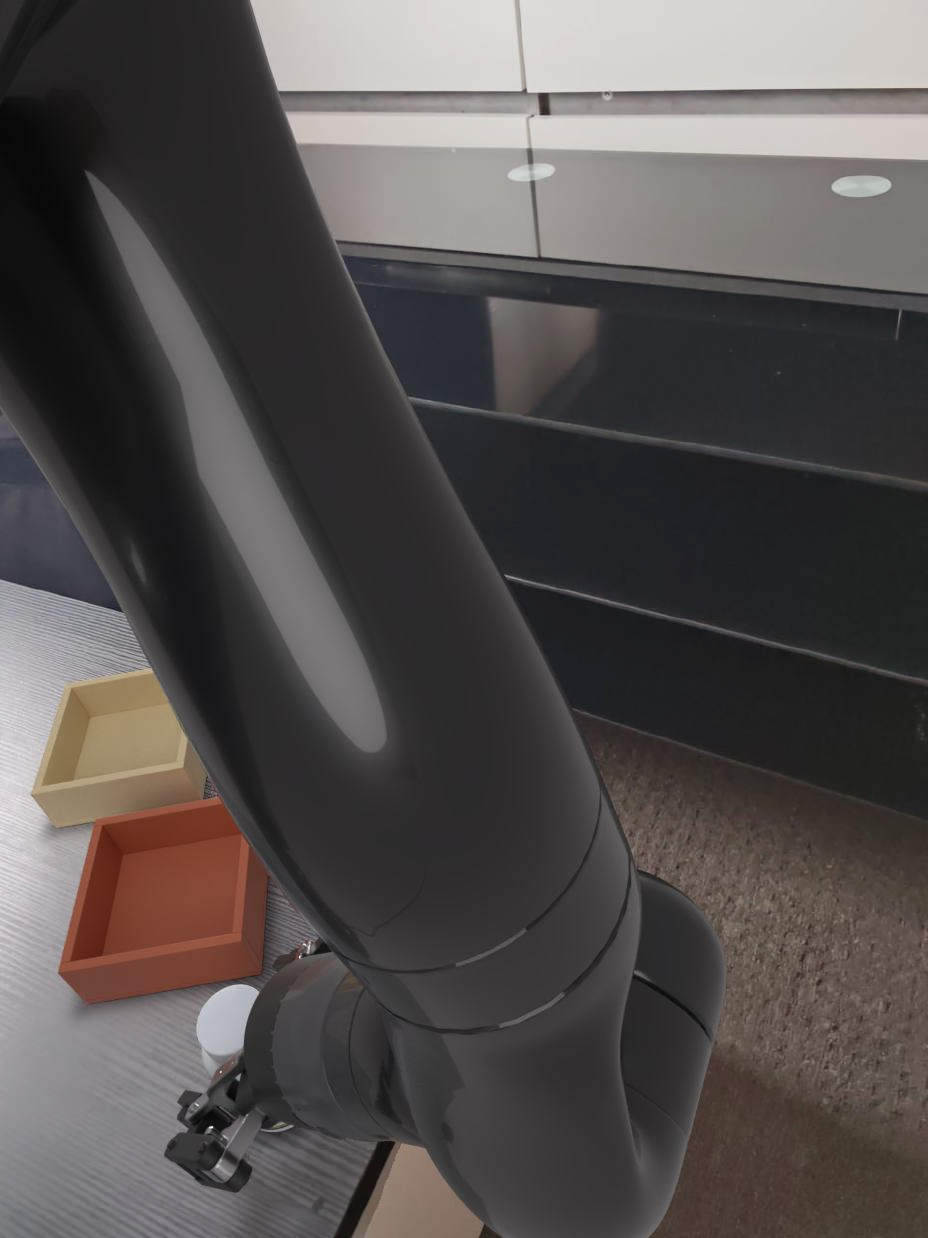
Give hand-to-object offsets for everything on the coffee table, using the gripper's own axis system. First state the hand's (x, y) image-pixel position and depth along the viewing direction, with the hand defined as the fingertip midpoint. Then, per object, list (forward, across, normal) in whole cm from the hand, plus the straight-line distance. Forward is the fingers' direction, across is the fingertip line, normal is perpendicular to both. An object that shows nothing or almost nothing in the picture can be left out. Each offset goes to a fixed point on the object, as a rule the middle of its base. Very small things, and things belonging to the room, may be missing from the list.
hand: (242, 1036), depth 53 cm
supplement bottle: (+5, 0, +5) cm, 7 cm away
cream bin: (+25, -16, -15) cm, 33 cm away
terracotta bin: (+15, -7, -5) cm, 17 cm away
